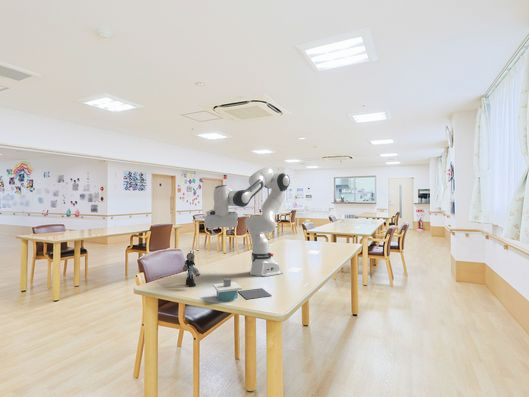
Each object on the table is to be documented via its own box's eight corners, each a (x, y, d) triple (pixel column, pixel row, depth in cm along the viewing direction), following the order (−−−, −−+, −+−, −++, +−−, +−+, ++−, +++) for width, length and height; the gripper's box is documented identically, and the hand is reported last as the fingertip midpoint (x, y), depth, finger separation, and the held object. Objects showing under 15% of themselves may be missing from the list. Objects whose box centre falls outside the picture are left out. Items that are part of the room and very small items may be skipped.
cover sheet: (235, 283, 164) (234, 275, 164) (241, 289, 153) (241, 280, 153) (213, 286, 160) (213, 277, 160) (218, 292, 149) (218, 283, 149)
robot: (180, 282, 185) (179, 249, 185) (187, 281, 188) (187, 248, 188) (194, 289, 170) (194, 254, 170) (202, 288, 173) (201, 253, 173)
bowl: (233, 293, 163) (233, 284, 163) (239, 299, 154) (239, 289, 154) (215, 295, 159) (215, 286, 159) (219, 301, 150) (219, 291, 150)
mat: (261, 288, 171) (261, 288, 171) (271, 296, 158) (271, 295, 158) (238, 291, 166) (238, 291, 166) (246, 299, 153) (246, 298, 153)
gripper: (236, 211, 191) (236, 233, 191) (203, 212, 183) (203, 234, 183) (239, 211, 185) (239, 234, 185) (205, 212, 177) (205, 236, 177)
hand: (221, 234), depth 184 cm, fingers open, 8 cm apart
